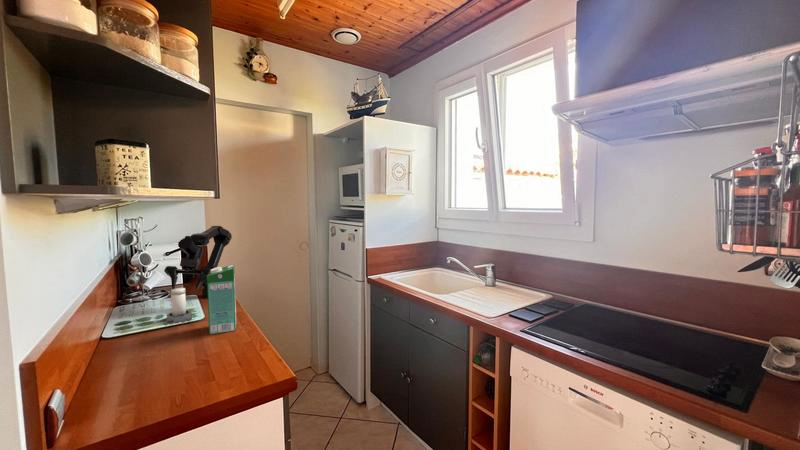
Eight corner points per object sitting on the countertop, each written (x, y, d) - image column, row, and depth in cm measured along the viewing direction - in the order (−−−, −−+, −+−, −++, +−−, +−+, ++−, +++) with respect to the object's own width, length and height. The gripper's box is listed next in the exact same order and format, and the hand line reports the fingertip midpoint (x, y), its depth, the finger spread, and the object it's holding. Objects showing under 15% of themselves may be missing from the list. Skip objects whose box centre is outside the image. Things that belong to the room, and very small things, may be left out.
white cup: (184, 314, 143) (182, 287, 142) (188, 317, 139) (186, 289, 138) (170, 318, 139) (169, 289, 138) (174, 321, 135) (173, 291, 134)
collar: (191, 314, 145) (191, 308, 145) (191, 320, 138) (191, 314, 138) (167, 318, 140) (166, 312, 140) (165, 325, 133) (165, 318, 133)
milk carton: (211, 325, 133) (209, 265, 130) (236, 322, 136) (234, 263, 134) (209, 334, 125) (206, 270, 122) (235, 330, 128) (233, 268, 126)
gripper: (165, 249, 146) (154, 282, 138) (212, 252, 151) (203, 284, 143) (173, 259, 155) (162, 291, 147) (216, 262, 160) (208, 292, 152)
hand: (184, 289), depth 147 cm, fingers open, 9 cm apart
